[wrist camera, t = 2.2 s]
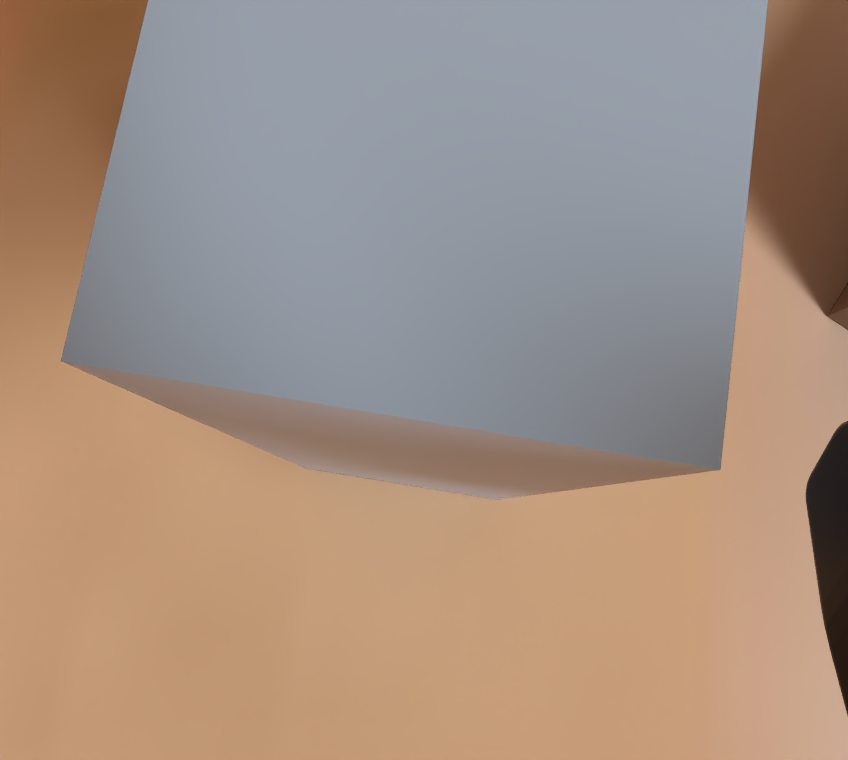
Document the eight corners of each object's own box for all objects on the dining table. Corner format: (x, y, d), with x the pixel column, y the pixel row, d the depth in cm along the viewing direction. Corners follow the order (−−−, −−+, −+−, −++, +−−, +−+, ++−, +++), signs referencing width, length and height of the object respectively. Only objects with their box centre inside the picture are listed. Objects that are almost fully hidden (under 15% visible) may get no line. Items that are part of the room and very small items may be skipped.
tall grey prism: (531, 505, 18) (841, 489, 5) (269, 462, 18) (-61, 342, 5) (593, 61, 20) (935, -755, 7) (355, 22, 20) (263, -861, 7)
